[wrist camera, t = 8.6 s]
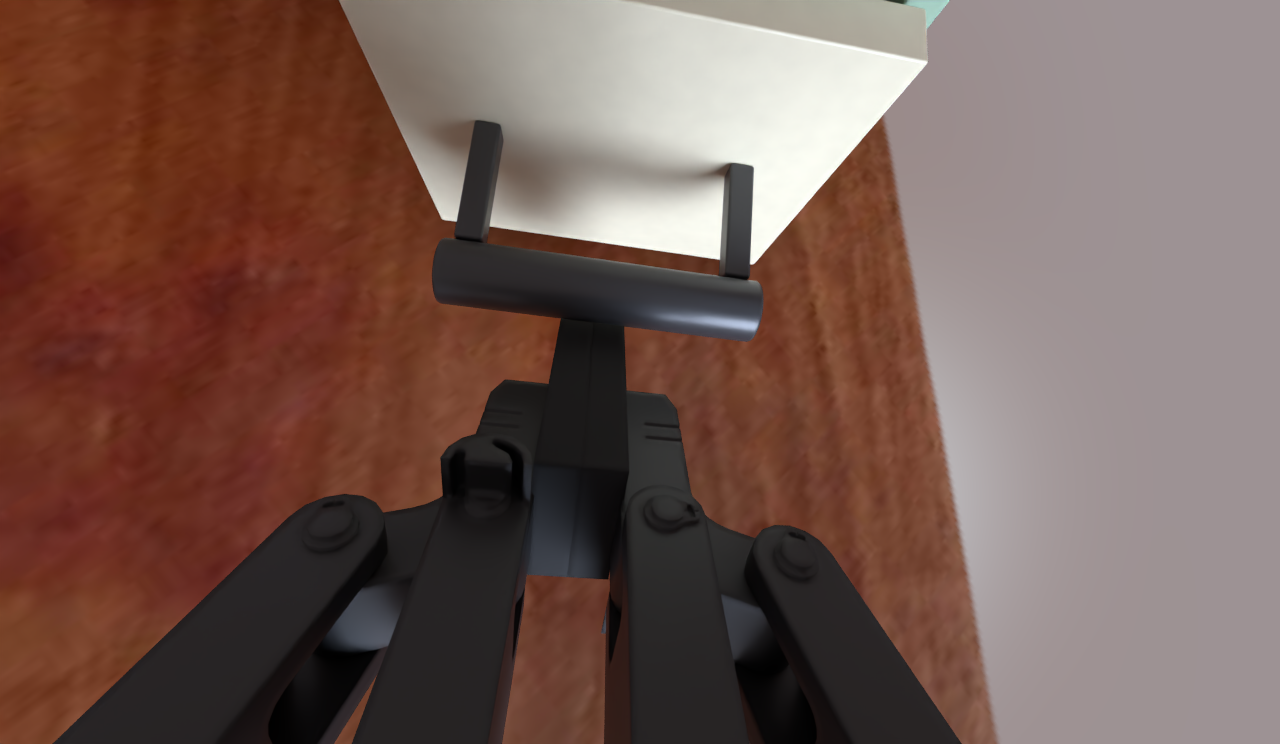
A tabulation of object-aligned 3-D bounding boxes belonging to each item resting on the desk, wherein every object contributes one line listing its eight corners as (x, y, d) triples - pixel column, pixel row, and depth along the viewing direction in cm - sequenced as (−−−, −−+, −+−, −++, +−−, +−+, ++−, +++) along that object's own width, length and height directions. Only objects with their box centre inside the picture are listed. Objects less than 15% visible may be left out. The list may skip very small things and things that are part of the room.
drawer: (749, 387, 17) (940, 289, 8) (417, 349, 15) (235, 187, 7) (766, -47, 21) (907, -418, 12) (502, -104, 19) (452, -564, 11)
